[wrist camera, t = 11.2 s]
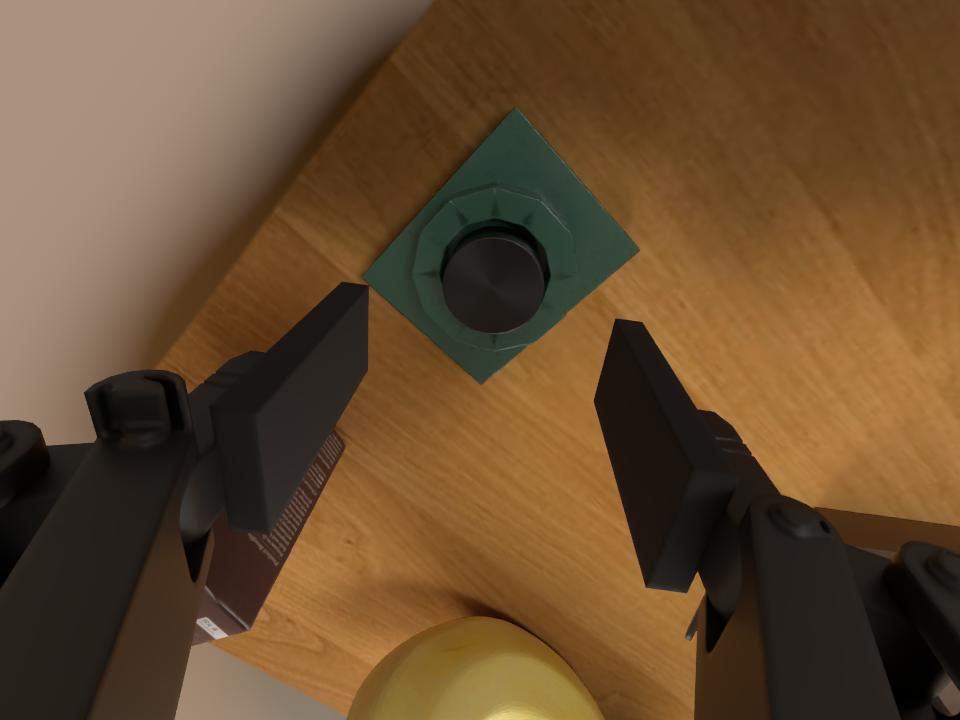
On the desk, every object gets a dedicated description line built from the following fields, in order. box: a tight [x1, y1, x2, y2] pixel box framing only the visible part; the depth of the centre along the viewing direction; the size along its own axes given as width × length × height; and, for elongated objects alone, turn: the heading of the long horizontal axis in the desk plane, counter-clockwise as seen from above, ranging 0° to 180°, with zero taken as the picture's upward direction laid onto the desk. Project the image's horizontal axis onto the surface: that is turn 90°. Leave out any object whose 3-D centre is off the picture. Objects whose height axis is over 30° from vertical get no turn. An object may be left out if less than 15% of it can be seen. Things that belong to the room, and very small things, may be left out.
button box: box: [362, 107, 640, 385], centre depth 22 cm, size 10×8×4 cm
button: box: [443, 226, 545, 334], centre depth 20 cm, size 4×4×2 cm
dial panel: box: [815, 508, 960, 559], centre depth 31 cm, size 12×9×3 cm
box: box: [191, 430, 345, 646], centre depth 24 cm, size 6×4×12 cm
